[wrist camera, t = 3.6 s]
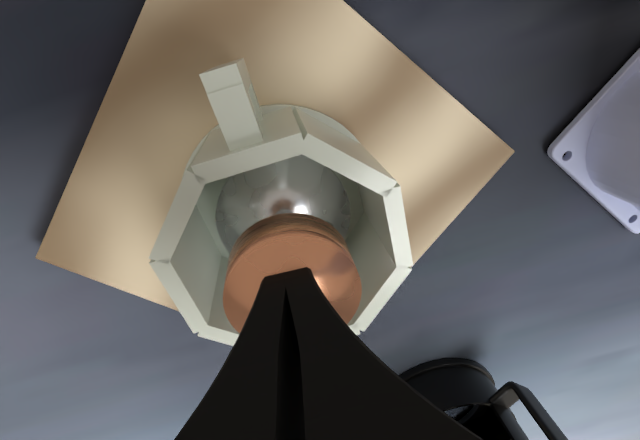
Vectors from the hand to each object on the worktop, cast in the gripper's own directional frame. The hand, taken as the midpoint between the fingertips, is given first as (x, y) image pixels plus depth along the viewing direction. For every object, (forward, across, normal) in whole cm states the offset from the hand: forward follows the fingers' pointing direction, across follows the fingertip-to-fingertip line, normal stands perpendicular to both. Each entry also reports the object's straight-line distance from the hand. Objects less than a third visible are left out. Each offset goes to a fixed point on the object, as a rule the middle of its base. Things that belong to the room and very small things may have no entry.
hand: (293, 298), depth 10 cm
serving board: (+8, 0, 0) cm, 8 cm away
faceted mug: (+7, 0, 0) cm, 7 cm away
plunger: (+6, 0, 0) cm, 6 cm away
